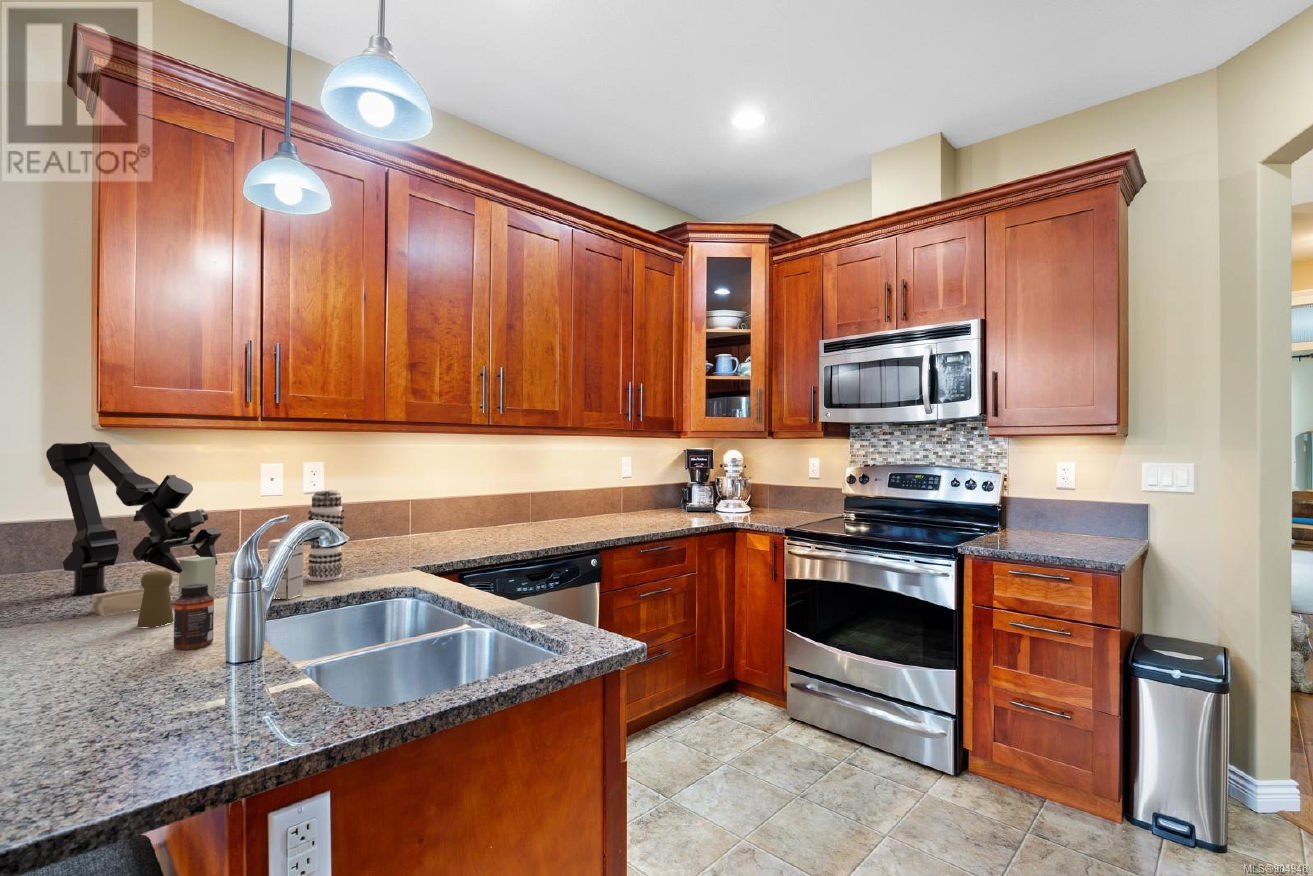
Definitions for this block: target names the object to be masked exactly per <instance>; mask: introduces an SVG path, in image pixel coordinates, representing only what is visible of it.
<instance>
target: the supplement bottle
mask: <svg viewBox="0 0 1313 876" xmlns="http://www.w3.org/2000/svg"><path fill="white" fill-rule="evenodd" d="M181 594H182V595H181V596H180V598H179V597H177V599H176V600H175V602H174V606H173V607H174V612H173V619H174V623H173V647H174V649H175V650H177V651H191V650H197V649H201V648H205V647H208V646H210V645H211V644H212V643H213V642H214V614H215V612H214V611H215V598H213V596H211V595H209V594H208V584H191V585H186V586H183V587H182V588H181Z"/></svg>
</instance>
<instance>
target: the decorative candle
mask: <svg viewBox="0 0 1313 876" xmlns="http://www.w3.org/2000/svg"><path fill="white" fill-rule="evenodd" d="M342 497H343V495H341V493H340V491H338V490H318V491H315V493H314V494H313V495H311V507H310V510H308V512H307V513H308V517H307V520H308V521H311V520H313V519H316V520H322V521H325V522H330V524H332V525H333V526H334V527H337V528H338V529H339V530H340V531H341V532H343V531H344V528H342V527H341V526H342V525H343V524H345V522H344V521H343V519H345V516H344V515H342V513H343V512H345V510H344V509H343V506H342ZM309 549H310V550H309V554H308V558H309V559H308V563H310V564H309V565H308V567H307V569H308V570H309V571H308V572H307V573H308V580H309V581H314V582H315V581H316V582H323V581H332V580H333V581H334V580H337V578H338V579H341V578H342V577H343V576H342V574H341V573H342V572H343V571H342V569H341V568H342V567H343V564H342V562H341V561H342V560H343V558H342V557H341V556H342V555H343V552H342V546H341V545H340V546H339V547H337V548H334V549H322V548H321V546H320V545H319V541H318V540H313V541H311V540H310V548H309Z"/></svg>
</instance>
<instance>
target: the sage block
mask: <svg viewBox="0 0 1313 876" xmlns="http://www.w3.org/2000/svg"><path fill="white" fill-rule="evenodd" d="M216 559H217V557H216V558H215V557H200V556H196V557H189V558H184V559H179V562H178V563H179V564H180V566H181V568H182V572H181V573H178V598H180V596H181V595H182V594H181V588H182V587H183V586H186V585H191V584H208V594H209V595H211V596H213V598H214V599H215V596H216V595H215V593H216V592H215V591H216V589H215V588H216V566H215V561H216Z"/></svg>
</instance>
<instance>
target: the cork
mask: <svg viewBox="0 0 1313 876" xmlns="http://www.w3.org/2000/svg"><path fill="white" fill-rule="evenodd" d="M173 579H174V578H173V574H172V573H171V572H170V571H167V570H156V571H151V572H147V573H144V574H143V575H142V577H141V579H140V585H141V588H143V589H144V590H143V591H144V593H143V598H142V604H141V609H140V611H139V614H138V620H137V626H136V627H156V626H161V625H165V624H167V623H172V622H173V621H174V612H173V606H172V598H171V591H170V586H171V584H172V583H173ZM172 624H173V623H172ZM156 628H157V627H156Z"/></svg>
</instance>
